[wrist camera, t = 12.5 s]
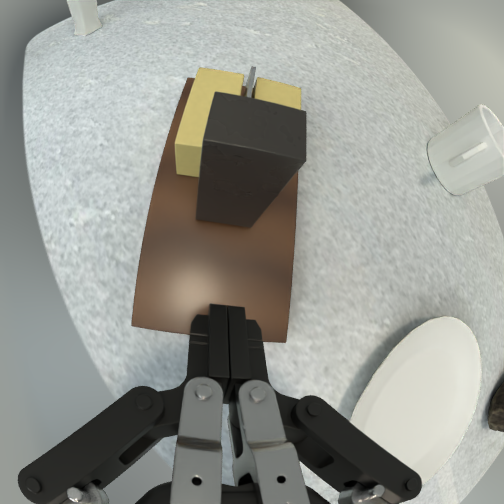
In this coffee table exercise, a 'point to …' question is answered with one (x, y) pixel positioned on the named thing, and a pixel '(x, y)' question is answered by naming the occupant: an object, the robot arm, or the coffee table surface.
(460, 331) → the plate
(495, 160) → the mug
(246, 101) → the knife
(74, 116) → the coffee table surface
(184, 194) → the slicer board
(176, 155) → the butter
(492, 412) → the rock
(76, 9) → the white faceted vase
